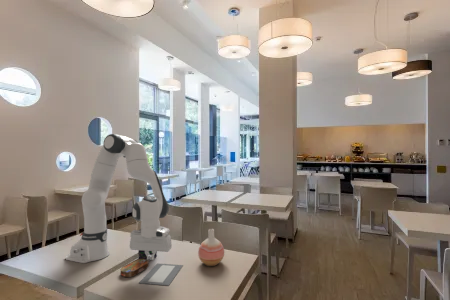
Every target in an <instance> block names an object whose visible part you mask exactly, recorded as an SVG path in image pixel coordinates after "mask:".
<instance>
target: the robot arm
mask: <svg viewBox="0 0 450 300" xmlns="http://www.w3.org/2000/svg"><path fill="white" fill-rule="evenodd" d="M102 144H103V146H102V147H101V148H100V150H99V152H98V155H97V156H96V159H95V162H94V165H93V168H92V171H91V175H90V181H89V185H88V188H87V190H86V191H84V192H83V194H82V196H81V203H82V212H83V220H84V221H83V230H84V231H83V232H81V233H80V234H79V237H81V238H80V239H79V240H77V241H75V243H74V244H73V245H71V247H70V250H69V253H68V254H66V255H65V257H64V260H65V259H66V261H71V262H76V263H81V264H86V263H90V262H94V261H99V260H102V259H105V258H107V257H108V256H109V255H110V251H109V248H108V247H109V246H108V240H107V239H108V229H107V214H106V211H107V210H106V200H107V199H108V196H109V192H110V188H111V185H112V180H113V177H114V174H115V171H116V167H117V164H118V160H119V159H120V158H121V157H123V158H125V161H126V169H127V172H128V174H129V176H130V177H132V178H133V179H135V180H138V181H142V182H145V183H147V184H149V186H150V187H151V190H152V193H153V195H147V196H144V197H142V199H141V200H140V201H137V202H135V203H134V204H133V206H132V207H131V217H132V218H133V219H134V220H136V221H137V222H140V229H141V230H140V229H133V230H132V231H131V232H130V233H129V235H130V241H129V249H130V250H131V251H138V250H143V251H145V254H146V256H147V260H148V261H154V259H155V258H154V255H155V253H156V251H157V252H161V253H162V252H164V253H165V252H166V253H168V252H170V251H171V249H172V237H171V235H170V228H168V227H165V226H164V225H161V221H160V219H163V218H165V217H166V216H167V215H168V213H169V211H170V206H169V203H168V201H167V198H166V197H165V194H164V192H163V188H162V185H161V182H160V179H159V176H158V174H157V172H156V171H155V170H153V169H152V167H151V166H150V164H149V159H148V155H147V151H146V149H145V146H144V145H143V144H142V143H141V142H139V141H137V140H136V139H133V138H130V137H129V136H125V135H121V134H118V133H109V134H108V135H107V136H105V138H104V140H103V143H102ZM149 251H152V253H153V254H152V255H150V254H149Z"/></svg>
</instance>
